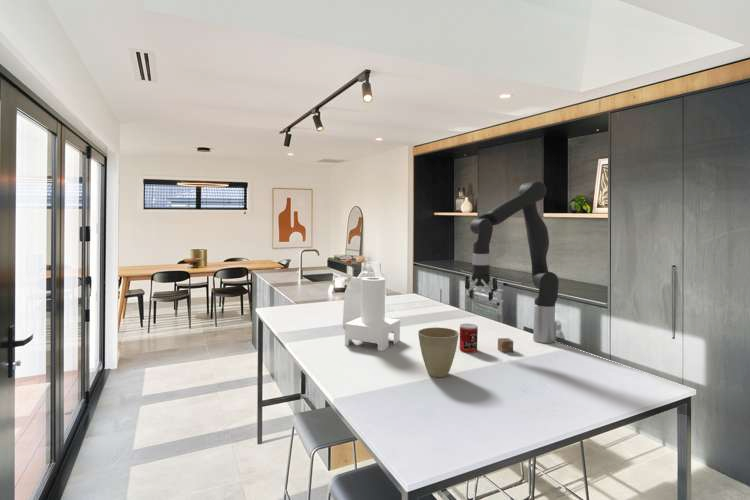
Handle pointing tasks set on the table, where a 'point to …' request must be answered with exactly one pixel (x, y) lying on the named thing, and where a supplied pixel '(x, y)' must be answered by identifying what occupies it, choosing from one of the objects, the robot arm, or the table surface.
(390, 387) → the table surface
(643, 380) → the table surface
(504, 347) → the walnut cube
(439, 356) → the plant pot
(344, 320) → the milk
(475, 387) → the table surface
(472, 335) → the canned food
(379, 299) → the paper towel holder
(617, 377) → the table surface
